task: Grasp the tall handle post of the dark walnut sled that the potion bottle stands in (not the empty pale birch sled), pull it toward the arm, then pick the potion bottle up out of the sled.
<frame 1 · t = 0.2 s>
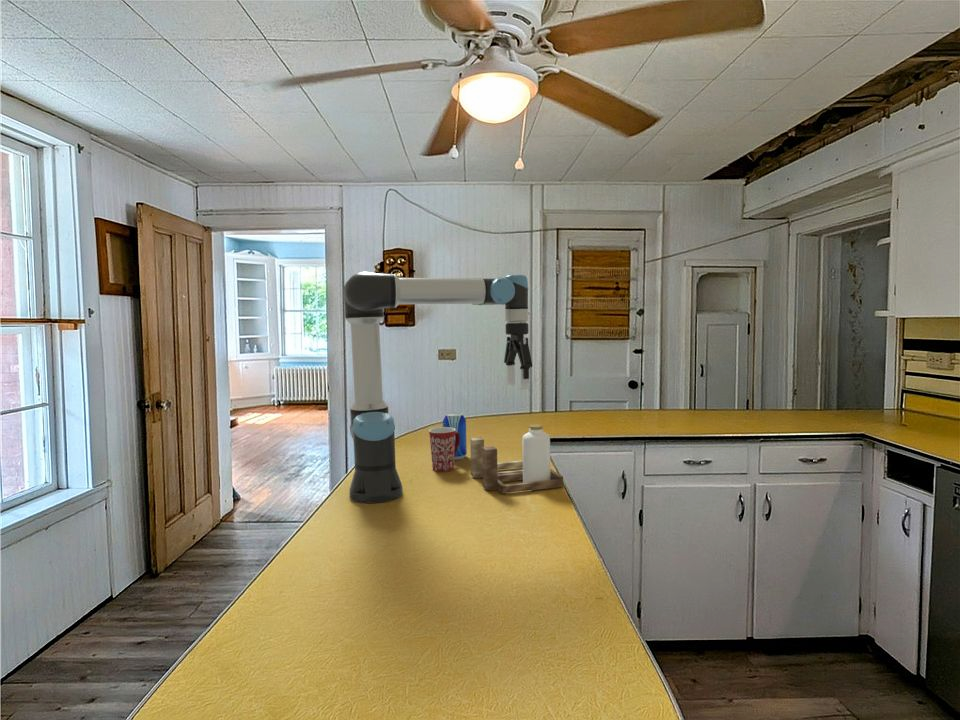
hand: (517, 386, 188), 28 cm above the worktop, fingers open, 13 cm apart
lane divider: (518, 479, 178), on the worktop
potion bottle: (536, 485, 172), resting in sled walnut
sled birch: (505, 454, 183), point 6 cm above the worktop, slide at 0.0 cm
beer can: (455, 458, 207), on the worktop
mug: (447, 468, 193), on the worktop
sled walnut: (520, 465, 170), point 6 cm above the worktop, slide at 0.0 cm
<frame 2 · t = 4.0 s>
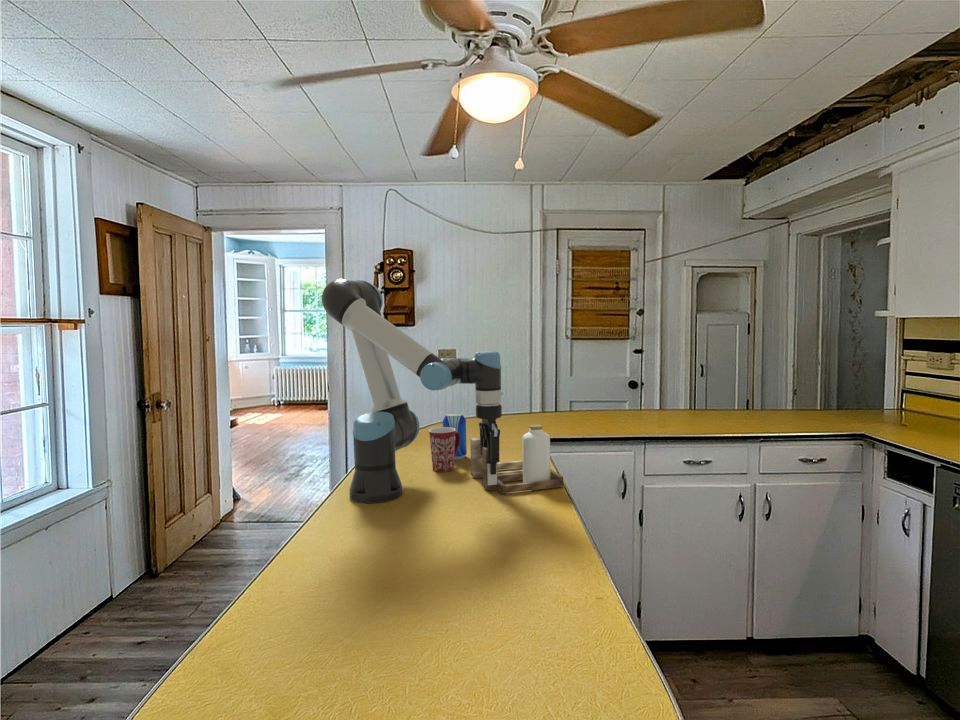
hand: (490, 482, 168), 2 cm above the worktop, fingers closed on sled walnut, 3 cm apart
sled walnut: (520, 465, 170), point 6 cm above the worktop, slide at 0.0 cm, touching gripper
everything else where it was.
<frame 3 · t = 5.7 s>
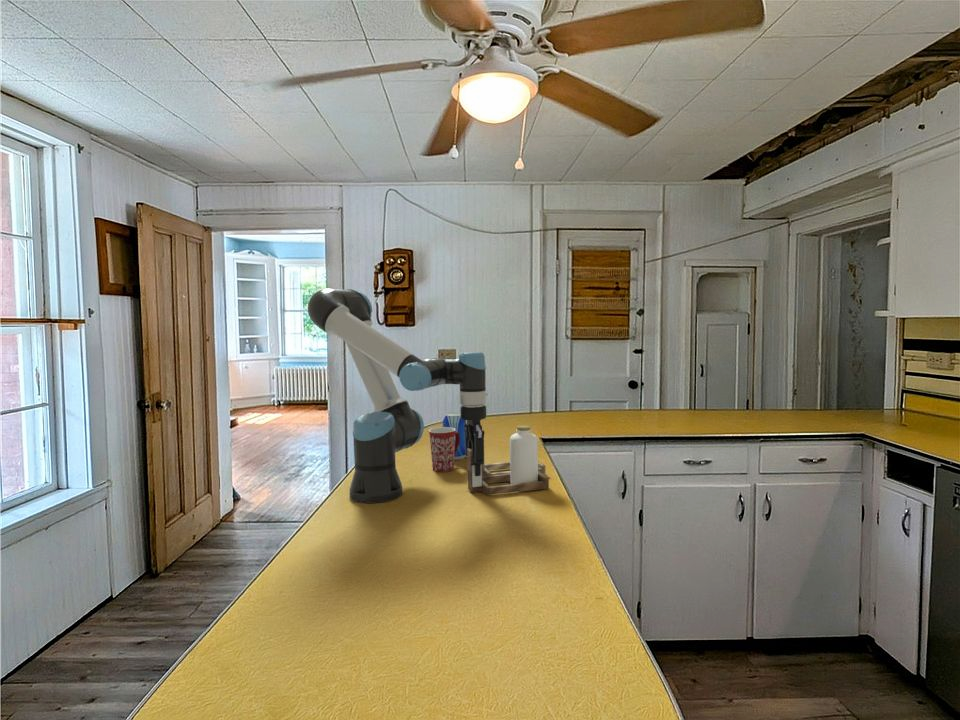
hand: (475, 484, 167), 2 cm above the worktop, fingers closed on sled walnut, 3 cm apart
potion bottle: (524, 486, 171), resting in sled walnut
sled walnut: (505, 466, 169), point 6 cm above the worktop, slide at 4.6 cm, touching gripper
everything else where it was.
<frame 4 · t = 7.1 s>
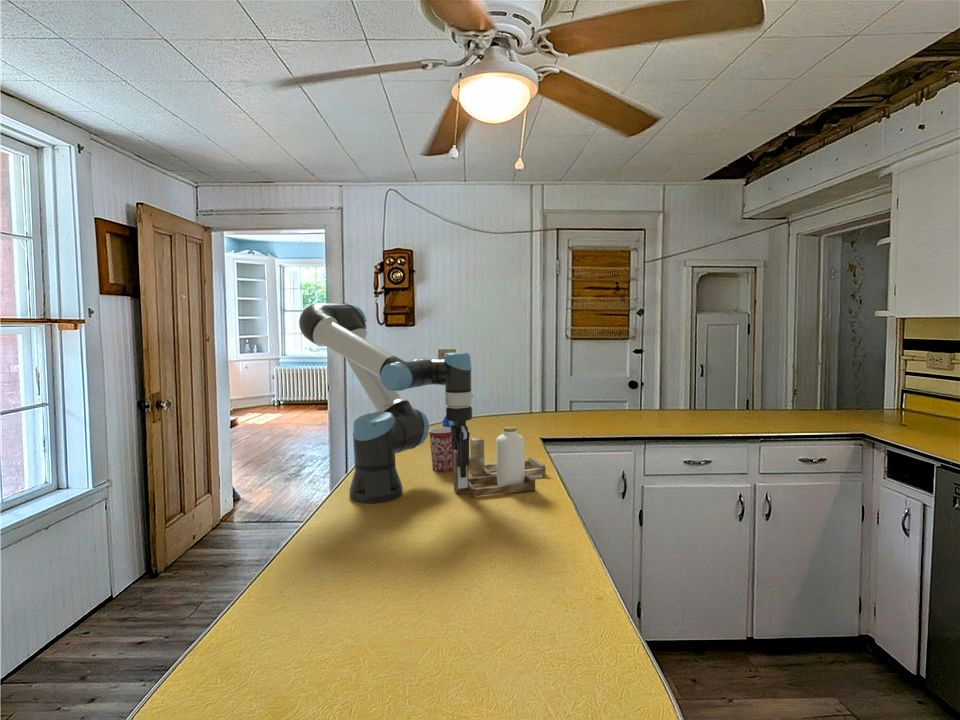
hand: (461, 485, 165), 2 cm above the worktop, fingers closed on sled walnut, 3 cm apart
potion bottle: (511, 487, 170), resting in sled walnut
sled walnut: (492, 467, 168), point 6 cm above the worktop, slide at 8.9 cm, touching gripper, potion bottle
everything else where it was.
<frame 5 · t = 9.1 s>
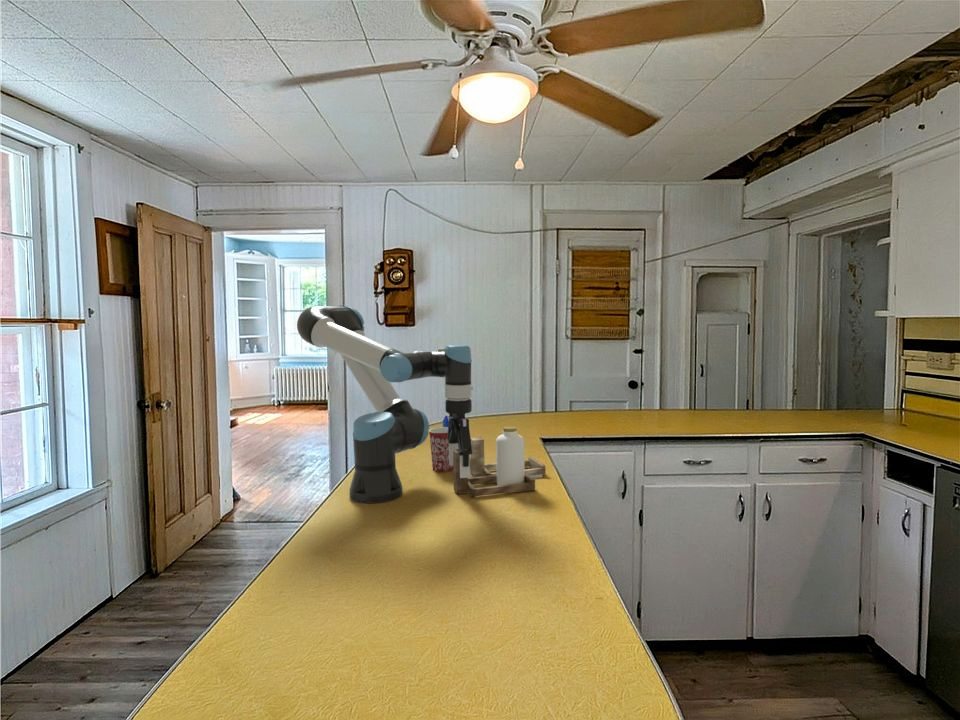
hand: (459, 471, 165), 6 cm above the worktop, fingers open, 13 cm apart
potion bottle: (510, 487, 170), resting in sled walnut
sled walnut: (491, 468, 168), point 6 cm above the worktop, slide at 8.9 cm
everything else where it was.
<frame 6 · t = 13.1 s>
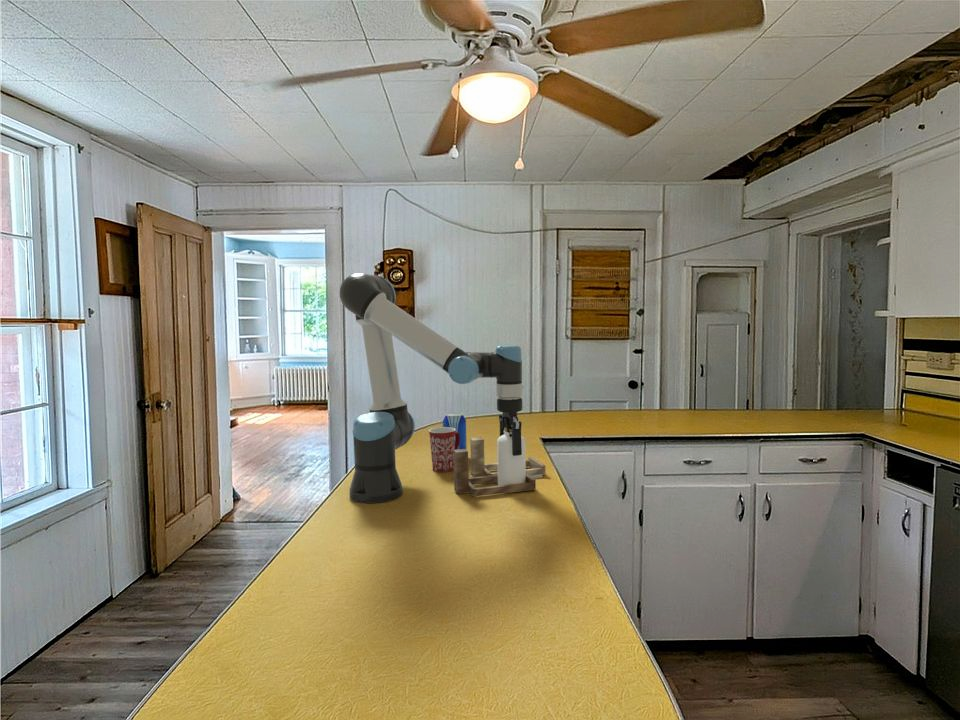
hand: (510, 474, 170), 4 cm above the worktop, fingers open, 5 cm apart
potion bottle: (511, 488, 169), resting in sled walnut, touching gripper, hand
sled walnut: (492, 467, 168), point 6 cm above the worktop, slide at 8.8 cm, touching potion bottle
everything else where it was.
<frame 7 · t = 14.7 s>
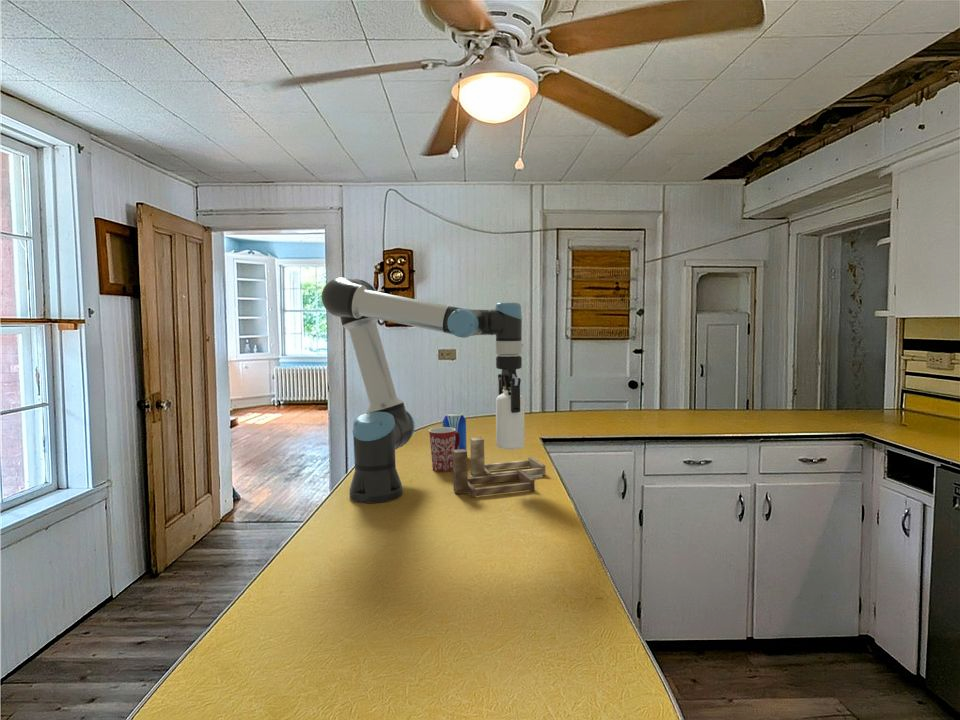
hand: (509, 433, 169), 16 cm above the worktop
potion bottle: (510, 447, 168), point 12 cm above the worktop, touching gripper, hand
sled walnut: (491, 468, 168), point 6 cm above the worktop, slide at 9.0 cm
everything else where it was.
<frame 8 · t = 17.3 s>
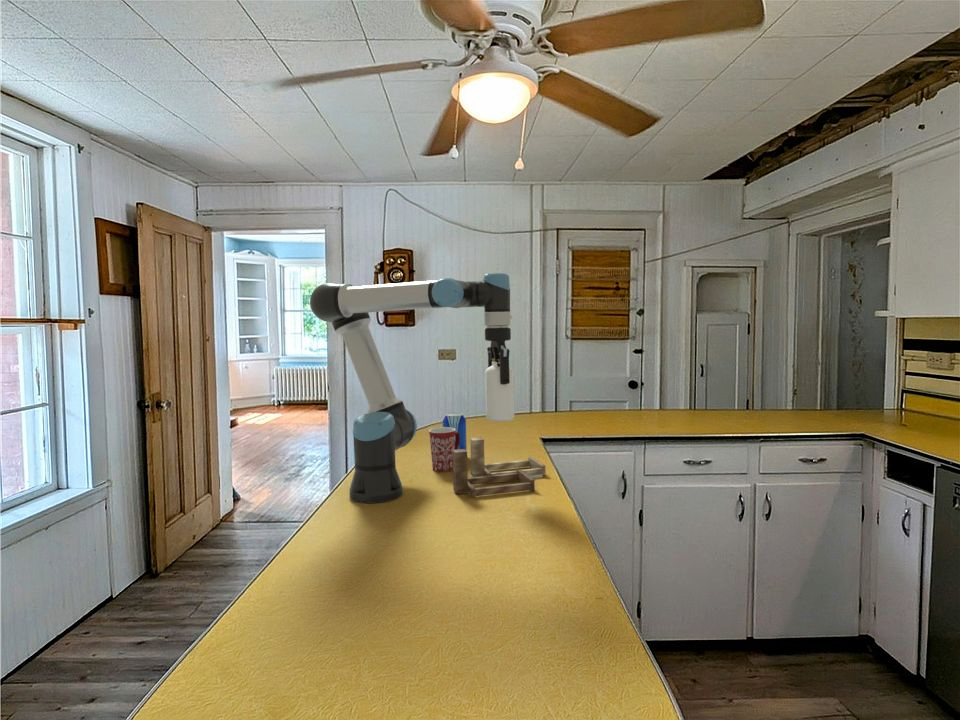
hand: (498, 405, 167), 25 cm above the worktop
potion bottle: (500, 420, 166), point 21 cm above the worktop, touching gripper, hand
everything else where it was.
at the end: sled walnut slide at 9.0 cm; potion bottle point 20.6 cm above the worktop; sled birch slide at 0.0 cm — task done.
